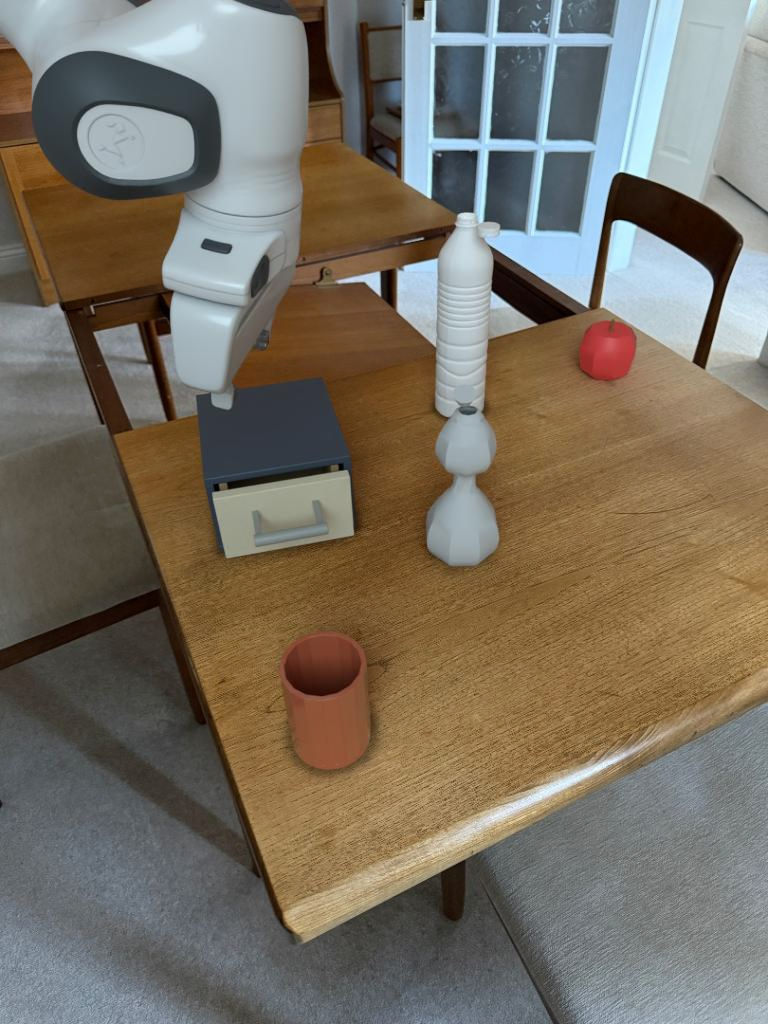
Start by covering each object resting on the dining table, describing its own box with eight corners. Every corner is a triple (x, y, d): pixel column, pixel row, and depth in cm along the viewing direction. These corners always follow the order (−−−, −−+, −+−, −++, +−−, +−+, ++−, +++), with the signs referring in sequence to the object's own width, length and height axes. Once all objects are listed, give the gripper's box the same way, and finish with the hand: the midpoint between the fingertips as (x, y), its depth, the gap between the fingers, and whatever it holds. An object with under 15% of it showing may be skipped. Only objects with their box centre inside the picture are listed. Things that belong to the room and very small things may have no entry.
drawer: (364, 566, 74) (360, 506, 69) (229, 591, 72) (216, 531, 67) (327, 453, 90) (322, 397, 85) (216, 472, 87) (204, 415, 82)
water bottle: (425, 402, 100) (427, 211, 84) (466, 389, 102) (475, 201, 86) (460, 433, 94) (469, 234, 78) (503, 419, 96) (520, 223, 80)
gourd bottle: (438, 520, 81) (442, 354, 68) (507, 538, 78) (525, 369, 66) (412, 567, 75) (410, 396, 63) (485, 587, 73) (500, 413, 60)
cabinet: (355, 528, 80) (350, 455, 74) (220, 552, 78) (203, 479, 72) (328, 444, 93) (322, 376, 87) (210, 463, 90) (195, 394, 84)
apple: (568, 361, 107) (575, 308, 102) (622, 358, 108) (632, 306, 103) (583, 388, 101) (591, 334, 96) (640, 385, 102) (652, 331, 96)
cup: (298, 778, 58) (285, 708, 52) (287, 711, 62) (274, 640, 57) (378, 759, 59) (374, 689, 53) (361, 694, 63) (356, 624, 58)
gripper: (248, 169, 65) (247, 308, 75) (150, 278, 51) (164, 432, 61) (318, 186, 65) (307, 323, 75) (239, 299, 50) (238, 451, 60)
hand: (242, 373), depth 67 cm, fingers open, 8 cm apart
